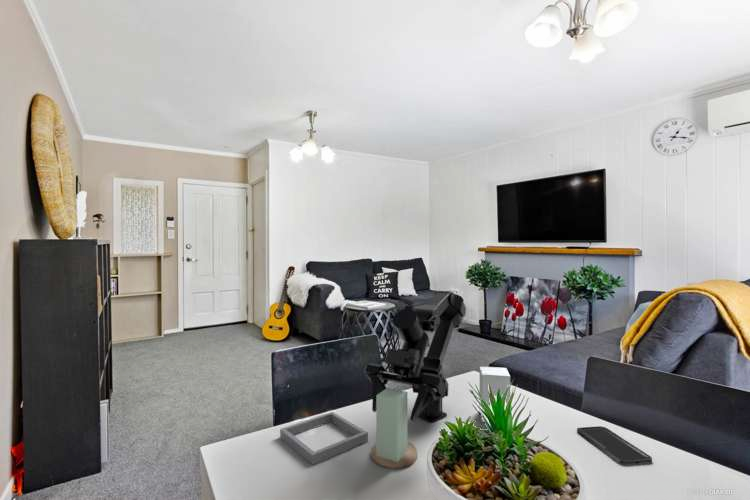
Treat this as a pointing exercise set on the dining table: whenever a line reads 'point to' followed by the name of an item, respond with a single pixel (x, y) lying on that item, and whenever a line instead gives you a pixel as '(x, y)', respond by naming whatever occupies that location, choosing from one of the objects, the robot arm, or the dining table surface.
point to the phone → (614, 445)
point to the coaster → (402, 463)
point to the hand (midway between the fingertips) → (392, 415)
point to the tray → (328, 451)
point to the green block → (391, 424)
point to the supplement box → (493, 382)
